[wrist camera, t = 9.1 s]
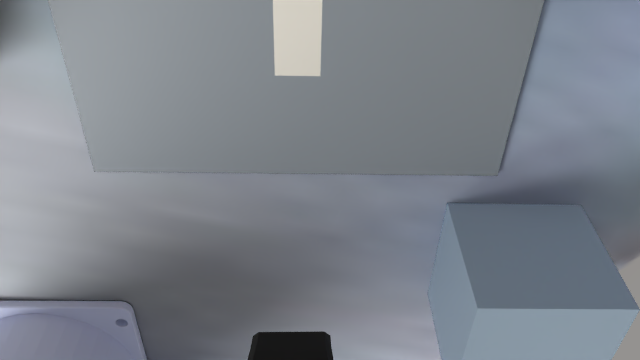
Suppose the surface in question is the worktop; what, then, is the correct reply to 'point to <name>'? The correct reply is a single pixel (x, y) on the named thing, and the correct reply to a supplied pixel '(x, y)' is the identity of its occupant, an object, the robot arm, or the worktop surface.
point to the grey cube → (526, 285)
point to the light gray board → (296, 83)
